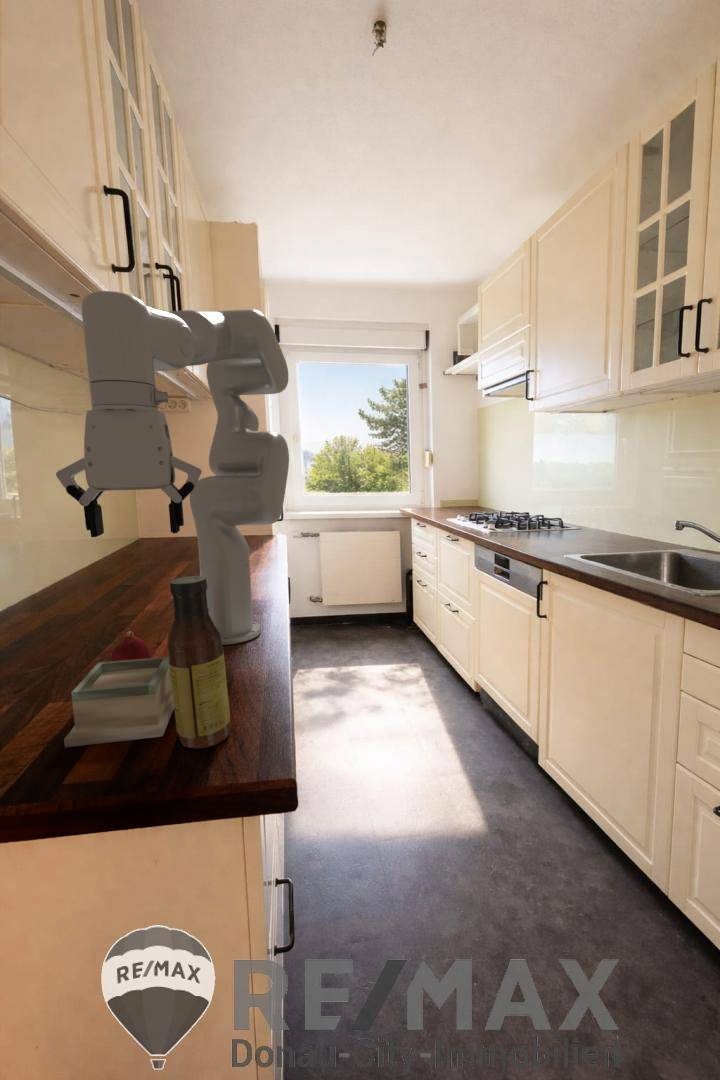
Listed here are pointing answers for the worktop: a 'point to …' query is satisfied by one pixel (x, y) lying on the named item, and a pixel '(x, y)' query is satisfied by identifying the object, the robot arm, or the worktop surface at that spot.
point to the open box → (122, 702)
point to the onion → (131, 649)
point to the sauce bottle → (197, 667)
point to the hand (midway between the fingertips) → (137, 533)
